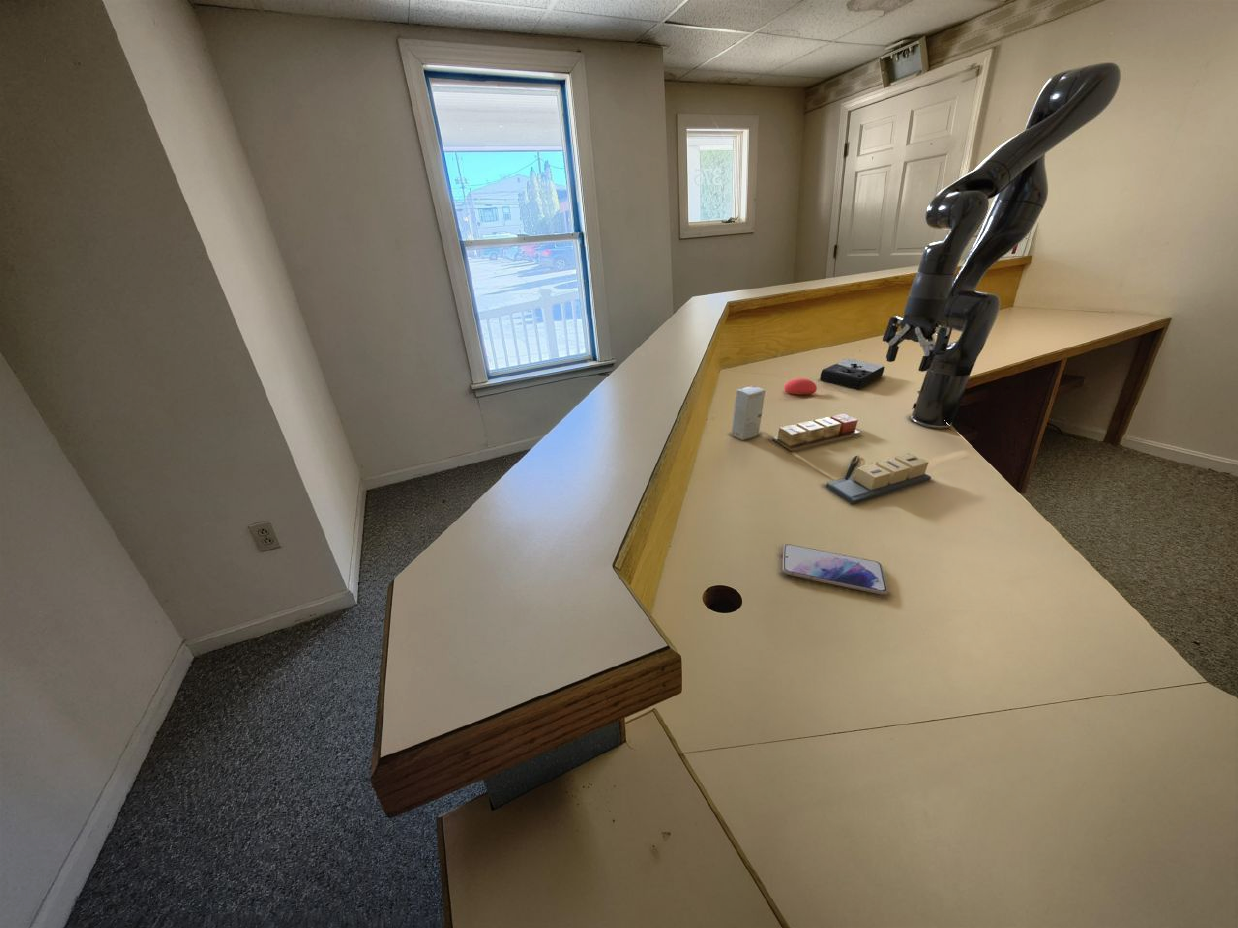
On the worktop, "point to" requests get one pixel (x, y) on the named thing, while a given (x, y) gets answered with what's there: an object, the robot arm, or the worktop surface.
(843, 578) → the smartphone
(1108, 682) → the worktop surface
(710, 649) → the worktop surface
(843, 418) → the red plus-sign block
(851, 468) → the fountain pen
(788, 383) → the stress ball
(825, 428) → the letter tile tray
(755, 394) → the cosmetic box
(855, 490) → the wooden block rack
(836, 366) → the multimeter
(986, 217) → the robot arm
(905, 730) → the worktop surface
